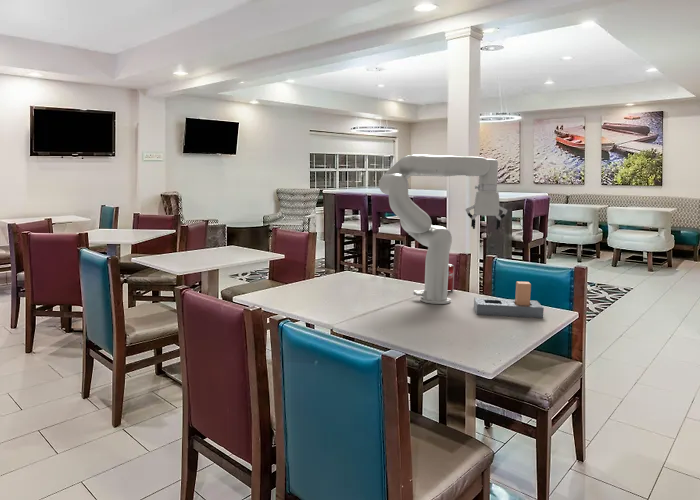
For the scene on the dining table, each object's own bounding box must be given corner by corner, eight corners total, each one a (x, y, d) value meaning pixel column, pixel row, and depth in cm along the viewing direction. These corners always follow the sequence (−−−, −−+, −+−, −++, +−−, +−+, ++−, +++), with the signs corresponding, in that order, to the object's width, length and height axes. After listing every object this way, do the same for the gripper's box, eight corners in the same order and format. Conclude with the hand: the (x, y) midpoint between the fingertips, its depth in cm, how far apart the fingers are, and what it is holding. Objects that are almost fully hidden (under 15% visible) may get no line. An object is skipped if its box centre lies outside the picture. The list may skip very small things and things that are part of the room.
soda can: (453, 292, 233) (454, 266, 231) (437, 291, 234) (438, 265, 233) (453, 289, 240) (454, 264, 238) (437, 288, 241) (438, 263, 240)
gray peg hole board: (476, 314, 191) (477, 304, 191) (473, 307, 203) (474, 297, 203) (543, 318, 188) (543, 307, 187) (536, 310, 200) (536, 300, 199)
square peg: (516, 314, 193) (518, 283, 191) (514, 311, 197) (516, 281, 196) (529, 315, 192) (531, 284, 191) (526, 312, 197) (528, 281, 195)
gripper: (467, 188, 212) (465, 229, 214) (510, 189, 209) (507, 230, 211) (465, 188, 219) (464, 227, 221) (507, 189, 217) (504, 229, 219)
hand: (485, 229), depth 216 cm, fingers open, 9 cm apart
